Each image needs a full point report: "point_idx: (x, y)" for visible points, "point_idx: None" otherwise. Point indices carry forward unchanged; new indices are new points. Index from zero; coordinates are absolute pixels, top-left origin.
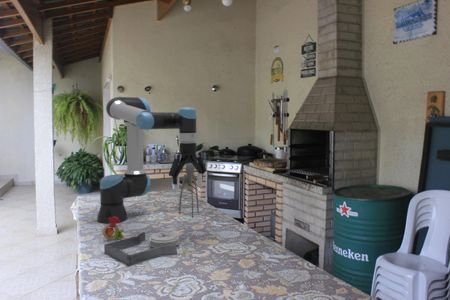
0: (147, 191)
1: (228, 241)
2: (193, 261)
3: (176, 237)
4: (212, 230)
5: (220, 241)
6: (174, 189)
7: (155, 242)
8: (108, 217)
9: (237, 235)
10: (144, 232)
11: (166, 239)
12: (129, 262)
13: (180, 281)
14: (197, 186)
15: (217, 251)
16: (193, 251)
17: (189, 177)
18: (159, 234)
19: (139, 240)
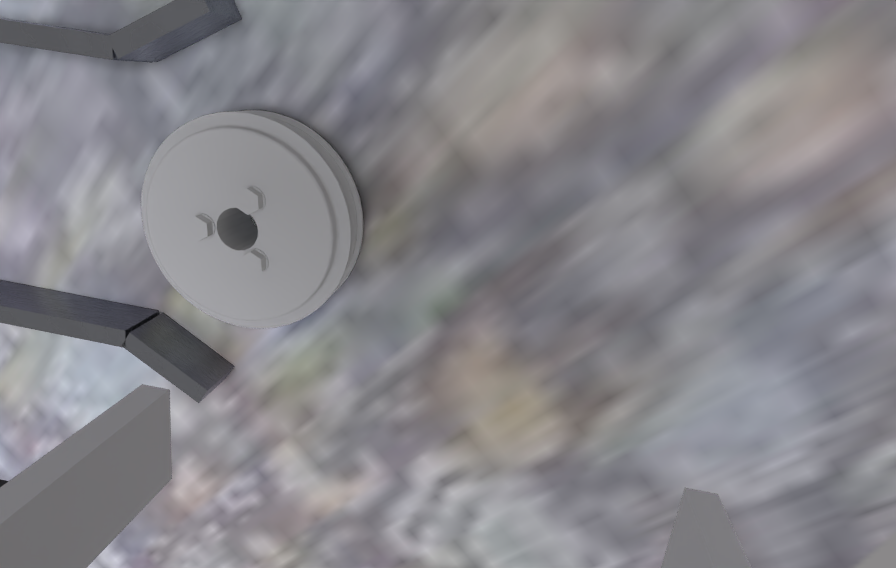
0: None
1: (582, 503)
2: (220, 499)
3: (290, 312)
4: (744, 295)
5: (552, 465)
6: (118, 413)
7: (149, 244)
8: None
9: (729, 497)
10: (201, 10)
11: (200, 299)
12: None
13: None
14: (685, 509)
15: (401, 528)
16: (315, 427)
17: None
18: (232, 179)
19: (145, 57)
